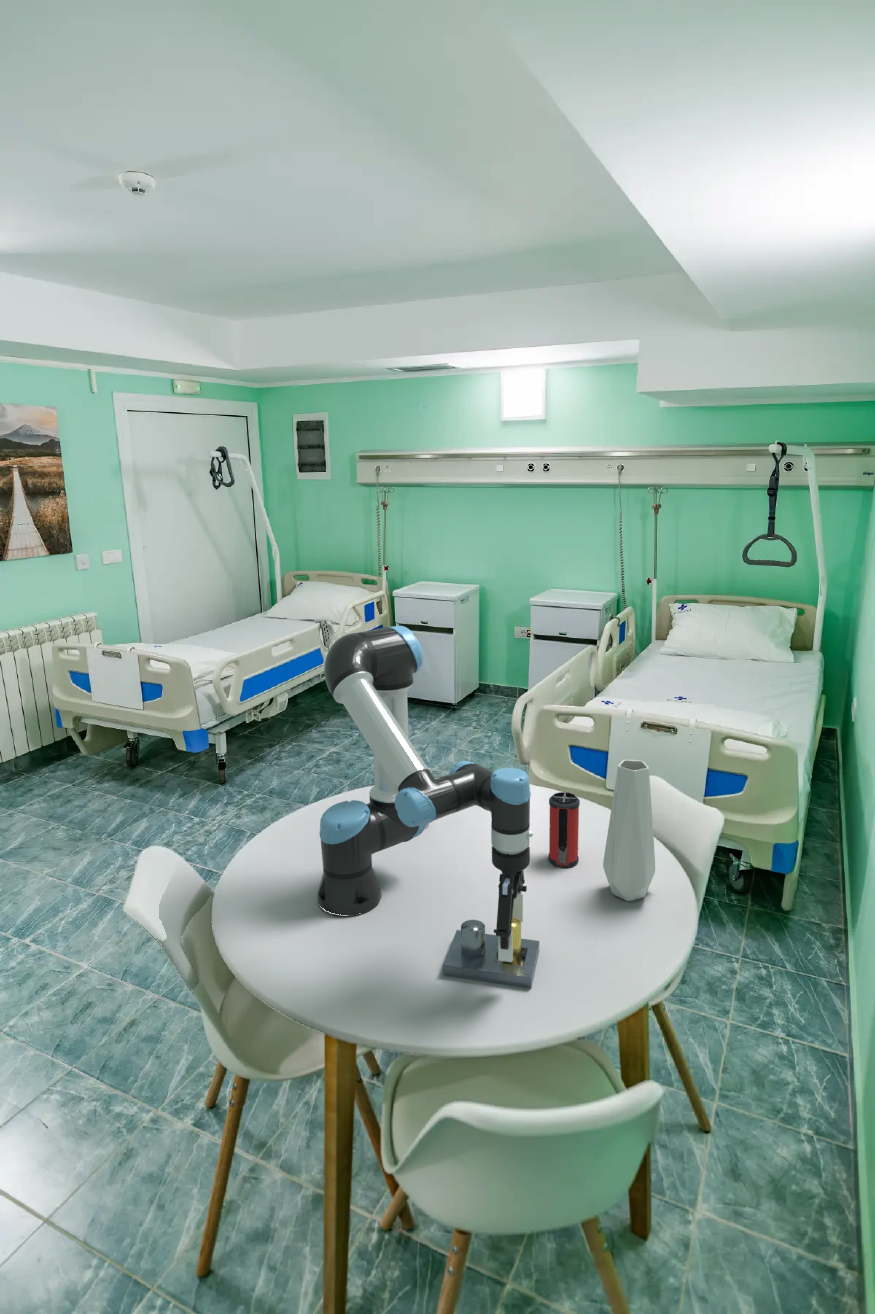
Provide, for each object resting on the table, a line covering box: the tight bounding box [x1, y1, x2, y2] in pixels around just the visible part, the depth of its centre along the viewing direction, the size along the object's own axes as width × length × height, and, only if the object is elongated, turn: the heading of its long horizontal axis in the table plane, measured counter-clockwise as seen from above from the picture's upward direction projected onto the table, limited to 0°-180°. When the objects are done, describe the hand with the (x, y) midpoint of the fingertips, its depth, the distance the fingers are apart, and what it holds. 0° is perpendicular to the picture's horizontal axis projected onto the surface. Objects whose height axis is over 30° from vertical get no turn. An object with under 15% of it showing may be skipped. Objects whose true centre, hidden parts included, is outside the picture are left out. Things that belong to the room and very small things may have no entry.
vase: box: [602, 759, 656, 902], centre depth 177 cm, size 12×12×33 cm
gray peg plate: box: [442, 919, 540, 989], centre depth 156 cm, size 18×12×8 cm, turn 75°
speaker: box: [548, 791, 581, 868], centre depth 194 cm, size 8×8×18 cm
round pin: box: [501, 917, 522, 966], centre depth 155 cm, size 4×4×10 cm
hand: (511, 939), depth 155 cm, fingers open, 13 cm apart
